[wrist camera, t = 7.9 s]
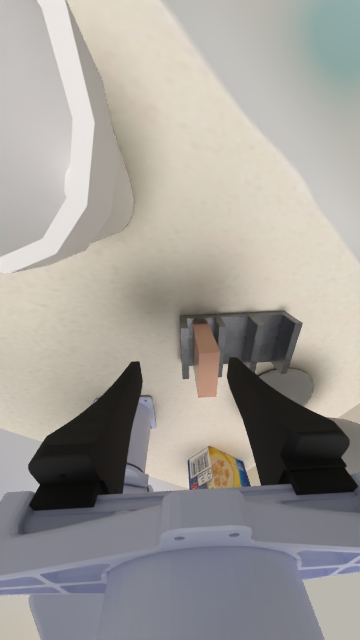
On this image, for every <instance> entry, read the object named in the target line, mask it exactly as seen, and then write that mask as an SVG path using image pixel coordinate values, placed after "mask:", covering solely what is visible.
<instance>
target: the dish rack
mask: <svg viewBox="0 0 360 640" xmlns="http://www.w3.org/2000/svg"><path fill="white" fill-rule="evenodd" d="M193 324H209V326H210V329H211V331H212V334H213V336H214V338H215V341H216V343H217V346H218V348H219V351H220V360H219V371H218V377H222V368H223V364H229V357H237V358H238V359H239V360H241V361H242V362H243V363H244V364H245V365H246V366H247V367H248V368H249V369H250V370H251V371H252V372H254V373H255V369H256V364H257V362H271V363H272V364H273V365H274V366H275V368H276V369H277V370H278V371H279V373H280V374H287V371H288V368H289V364H290V361H291V358H292V355H293V352H294V349H295V346H296V343H297V339H298V336H299V333H300V330H301V327H302V324H303V323H302V322H300V321H299V320H297V319H296V318H294V317H293V316H291V315H290V314H288V313H287V312H285V311H273V312H251V313H228V314H206V315H184V316H180V332H181V359H182V375H183V379H189V366H192V365H193Z"/></svg>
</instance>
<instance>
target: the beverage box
mask: <svg viewBox="0 0 360 640" xmlns="http://www.w3.org/2000/svg"><path fill="white" fill-rule="evenodd" d="M188 471H189V486H190V490H196V489H213V488H231V487H248V486H251V485H250V482H249V479H248V476H247V473H246V469H245V466H244V463H243V462H242V461H240V460H238V459H236V458H234V457H232V456H229V455H227V454H225V453H223V452H221V451H219V450H217V449H215V448H212V447H210V446H208V447H207V448H205V449H204V450H202V451H201V452H200V453H198V454H197V455H195V456H194V457H192V458H191V459H189V460H188Z"/></svg>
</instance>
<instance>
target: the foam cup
mask: <svg viewBox="0 0 360 640" xmlns="http://www.w3.org/2000/svg"><path fill="white" fill-rule="evenodd" d="M133 208H134V198H133V193H132V188H131V183H130V180H129V177H128V174H127V171H126V168H125V165H124V162H123V159H122V156H121V153H120V149H119V146H118V143H117V140H116V137H115V134H114V131H113V128H112V123H111V119H110V114H109V109H108V104H107V100H106V95H105V90H104V85H103V80H102V78H101V76H100V74H99V72H98V69H97V67H96V65H95V63H94V60H93V58H92V56H91V54H90V52H89V49H88V47H87V45H86V43H85V40H84V38H83V36H82V34H81V32H80V29H79V27H78V25H77V23H76V20H75V18H74V16H73V14H72V12H71V9H70V7H69V5H68V3H67V0H0V273H14V272H19V271H23V270H28V269H33V268H38V267H42V266H47V265H51V264H53V263H56V262H58V261H60V260H63V259H65V258H68V257H70V256H73V255H75V254H77V253H80V252H82V251H85V250H86V249H87V248H88V246H89V245H90V243H93V242H95V241H98V240H100V239H103V238H105V237H107V236H110V235H112V234H115V233H117V232H119V231H122V230H123V229H124V228H125V226H126V225H127V224H128V222H129V221H130V220H131V218H132V213H133Z"/></svg>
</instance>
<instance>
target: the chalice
mask: <svg viewBox="0 0 360 640" xmlns="http://www.w3.org/2000/svg"><path fill="white" fill-rule="evenodd" d="M259 378H261V379H262V380H263V381H264V382H266V383H267V384H268V385H270V386H271V387H272V388H274V389H275V390H277V391H278V392H280V393H281V394H283V395H284V396H286V397H288V398H289V399H291V400H293V401H294V402H296V403H298V404H300V405H301V406H304V405H305V404H306V403H307V402H308V400H309V399H310V397H311V395H312V393H313V386H314V385H313V381H312V379H311V378H310V376H309V375H308V374H306V373H305V372H303V371H300V370H298V369H291V368H288V371H287V374H280V373H279V371H278V370H273V371H269V372H267V373H264V374H262V375H260V376H259ZM328 419H330V420H332V421H334V422H335V423H336V424H337V425H338V426H339V427H340V428H341V430H342V431H343V432H344V433H345V434H346V435H347V436H348V438H349V439H350V445H349V447H348V449H347V450H346V452H345V453H344V454H343V456H342V457H341V458H342V459H343V461H344V462H345V463H346V465H347V467H346V468H345V469H346V470H347V472H348V473H349V474H350V475H351V474H353V473H357V472H360V424H358V423H355V422H352V421H348V420H345V419H337V418H329V417H328Z"/></svg>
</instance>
